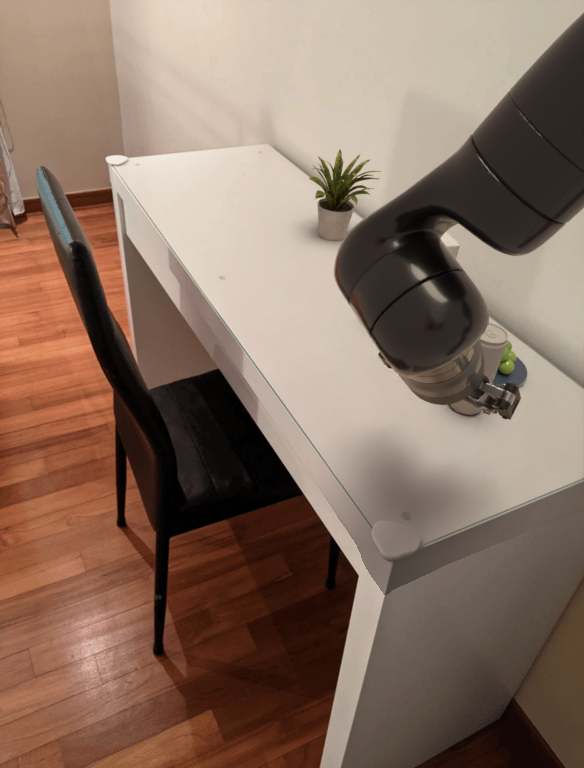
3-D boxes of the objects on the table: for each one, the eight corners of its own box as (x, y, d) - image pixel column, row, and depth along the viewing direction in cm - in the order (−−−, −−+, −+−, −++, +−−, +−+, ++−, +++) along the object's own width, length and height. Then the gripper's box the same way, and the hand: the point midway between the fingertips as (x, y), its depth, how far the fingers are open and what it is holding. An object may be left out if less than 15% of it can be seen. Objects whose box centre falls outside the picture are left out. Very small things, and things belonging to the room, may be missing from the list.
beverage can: (467, 390, 85) (492, 318, 78) (489, 411, 82) (518, 339, 75) (439, 398, 84) (462, 325, 76) (461, 420, 80) (487, 347, 73)
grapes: (540, 381, 88) (555, 346, 84) (487, 397, 85) (501, 361, 81) (494, 343, 95) (506, 309, 91) (443, 356, 91) (454, 321, 87)
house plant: (337, 262, 111) (351, 174, 101) (279, 236, 117) (286, 150, 107) (379, 238, 120) (395, 155, 110) (323, 216, 127) (333, 135, 116)
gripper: (535, 347, 51) (530, 385, 66) (384, 289, 57) (411, 336, 72) (496, 428, 51) (500, 447, 66) (348, 361, 56) (383, 393, 71)
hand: (454, 389), depth 69 cm, fingers open, 8 cm apart
